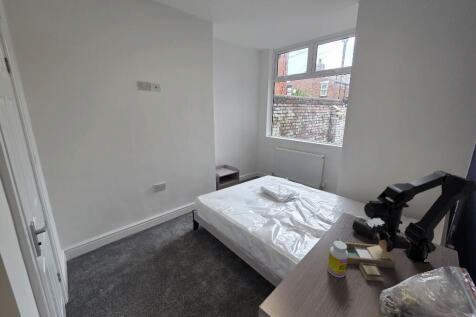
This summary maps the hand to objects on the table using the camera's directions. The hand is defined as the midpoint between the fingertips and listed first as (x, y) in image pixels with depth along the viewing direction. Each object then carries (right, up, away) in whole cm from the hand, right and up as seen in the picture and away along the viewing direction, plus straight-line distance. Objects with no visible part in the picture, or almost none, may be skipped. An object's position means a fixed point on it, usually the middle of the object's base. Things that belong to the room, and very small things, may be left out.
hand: (384, 248), depth 85 cm
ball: (0, +1, 0) cm, 1 cm away
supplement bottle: (-23, -8, -5) cm, 25 cm away
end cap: (+2, -1, +17) cm, 18 cm away
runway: (-7, -5, +3) cm, 9 cm away
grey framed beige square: (-10, -8, -6) cm, 14 cm away
